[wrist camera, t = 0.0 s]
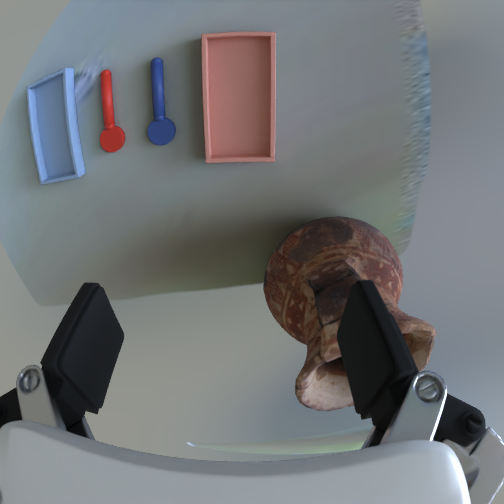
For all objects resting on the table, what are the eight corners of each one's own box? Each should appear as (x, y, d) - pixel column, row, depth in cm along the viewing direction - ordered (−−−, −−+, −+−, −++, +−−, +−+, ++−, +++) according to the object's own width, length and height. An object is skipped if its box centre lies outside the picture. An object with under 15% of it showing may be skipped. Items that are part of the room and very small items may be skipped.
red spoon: (96, 73, 28) (91, 73, 26) (119, 66, 28) (115, 66, 27) (104, 152, 35) (99, 155, 34) (126, 148, 35) (122, 151, 34)
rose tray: (204, 37, 27) (201, 34, 25) (273, 35, 27) (275, 32, 25) (208, 159, 37) (206, 163, 35) (273, 157, 37) (274, 161, 35)
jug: (399, 244, 45) (468, 347, 25) (326, 314, 55) (354, 423, 34) (315, 171, 38) (392, 280, 17) (237, 267, 47) (232, 401, 27)
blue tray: (34, 85, 26) (26, 86, 24) (73, 67, 26) (65, 68, 25) (48, 180, 36) (40, 185, 34) (85, 172, 37) (78, 177, 35)
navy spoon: (145, 60, 28) (141, 59, 27) (172, 55, 28) (169, 54, 27) (150, 145, 35) (147, 147, 34) (176, 142, 35) (174, 144, 34)
